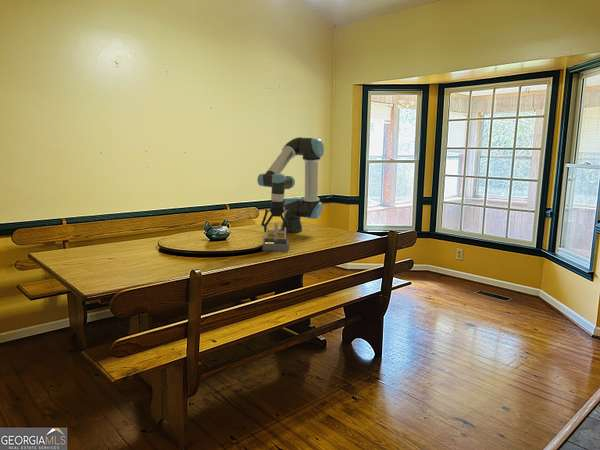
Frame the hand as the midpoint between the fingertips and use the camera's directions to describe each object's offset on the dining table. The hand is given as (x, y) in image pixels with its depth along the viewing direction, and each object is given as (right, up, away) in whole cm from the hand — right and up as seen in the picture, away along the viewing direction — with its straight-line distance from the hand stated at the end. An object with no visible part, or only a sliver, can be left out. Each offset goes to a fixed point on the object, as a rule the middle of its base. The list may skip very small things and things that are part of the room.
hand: (275, 237), depth 262 cm
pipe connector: (0, -1, 0) cm, 1 cm away
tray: (0, -6, +1) cm, 6 cm away
